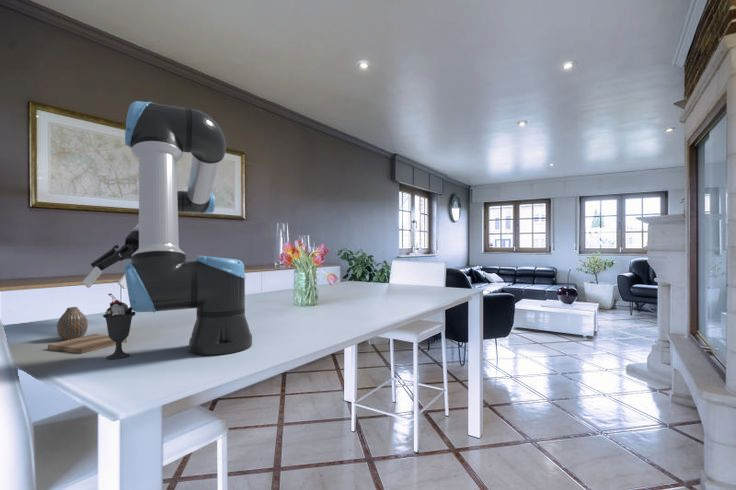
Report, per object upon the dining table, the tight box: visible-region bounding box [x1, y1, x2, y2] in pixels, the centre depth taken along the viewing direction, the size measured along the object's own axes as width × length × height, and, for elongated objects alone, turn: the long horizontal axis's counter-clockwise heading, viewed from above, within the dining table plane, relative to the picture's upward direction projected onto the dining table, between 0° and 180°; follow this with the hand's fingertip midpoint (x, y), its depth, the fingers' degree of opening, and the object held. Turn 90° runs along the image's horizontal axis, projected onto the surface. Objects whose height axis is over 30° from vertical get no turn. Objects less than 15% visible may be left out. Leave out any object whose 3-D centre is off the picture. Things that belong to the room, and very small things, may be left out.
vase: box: [56, 306, 89, 341], centre depth 108 cm, size 7×7×9 cm
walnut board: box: [47, 333, 128, 354], centre depth 101 cm, size 12×12×1 cm
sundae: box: [102, 293, 137, 360], centre depth 91 cm, size 7×7×15 cm
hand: (103, 285), depth 118 cm, fingers open, 13 cm apart
